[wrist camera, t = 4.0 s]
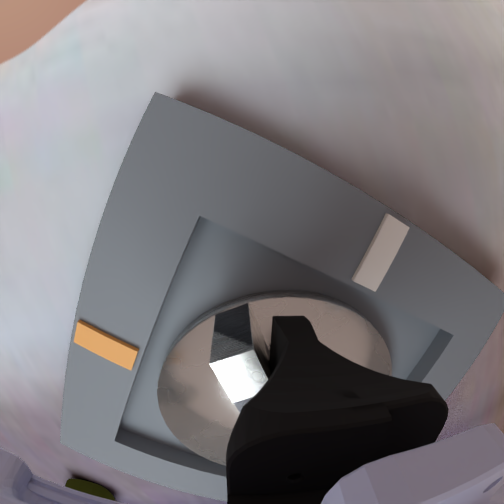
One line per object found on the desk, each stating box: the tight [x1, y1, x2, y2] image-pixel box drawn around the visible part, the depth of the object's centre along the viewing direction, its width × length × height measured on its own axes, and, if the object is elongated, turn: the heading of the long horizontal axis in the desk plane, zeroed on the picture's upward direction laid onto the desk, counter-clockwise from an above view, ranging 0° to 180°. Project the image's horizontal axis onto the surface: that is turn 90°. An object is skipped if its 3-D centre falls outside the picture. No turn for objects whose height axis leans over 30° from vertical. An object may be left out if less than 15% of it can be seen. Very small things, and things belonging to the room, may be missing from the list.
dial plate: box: [60, 92, 504, 502], centre depth 14 cm, size 21×21×2 cm
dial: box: [157, 290, 392, 466], centre depth 12 cm, size 12×12×4 cm
